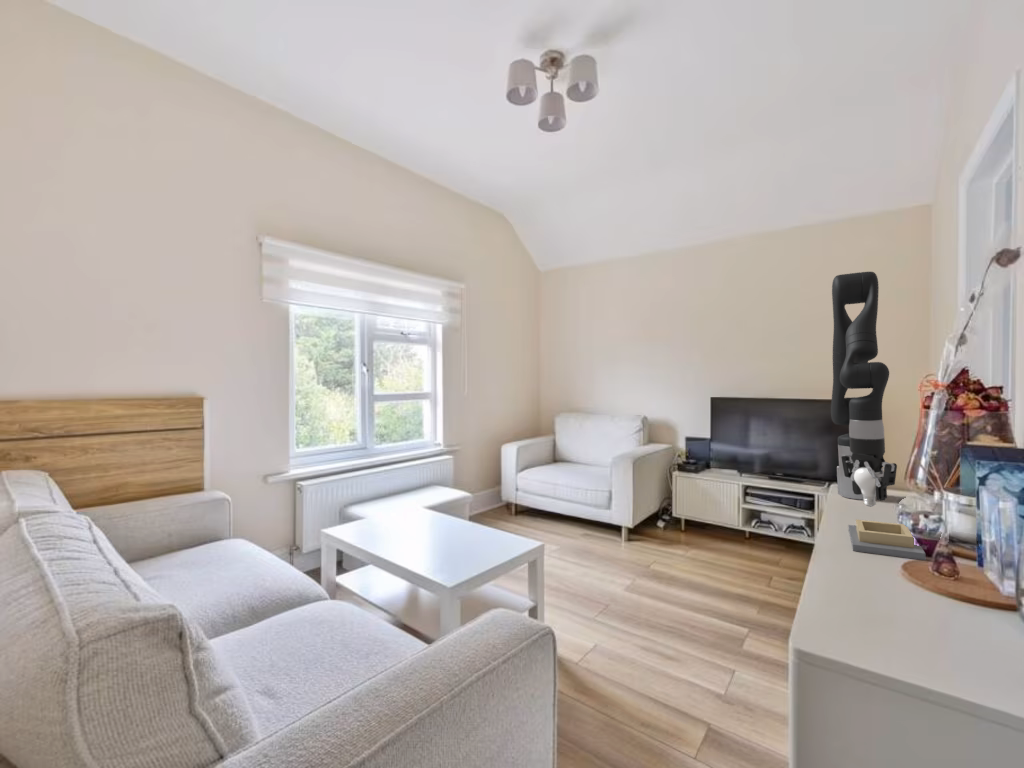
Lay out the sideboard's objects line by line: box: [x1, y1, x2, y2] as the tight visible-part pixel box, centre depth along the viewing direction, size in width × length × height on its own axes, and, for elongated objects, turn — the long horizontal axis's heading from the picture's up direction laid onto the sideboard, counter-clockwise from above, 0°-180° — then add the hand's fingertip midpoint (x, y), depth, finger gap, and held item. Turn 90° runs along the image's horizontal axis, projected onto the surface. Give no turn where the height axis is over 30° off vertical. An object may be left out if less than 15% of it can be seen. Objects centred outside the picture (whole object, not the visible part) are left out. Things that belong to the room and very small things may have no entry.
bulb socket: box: [847, 519, 927, 561], centre depth 111 cm, size 16×13×4 cm
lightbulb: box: [854, 467, 882, 508], centre depth 124 cm, size 6×6×11 cm
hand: (869, 496), depth 124 cm, fingers closed on lightbulb, 6 cm apart
